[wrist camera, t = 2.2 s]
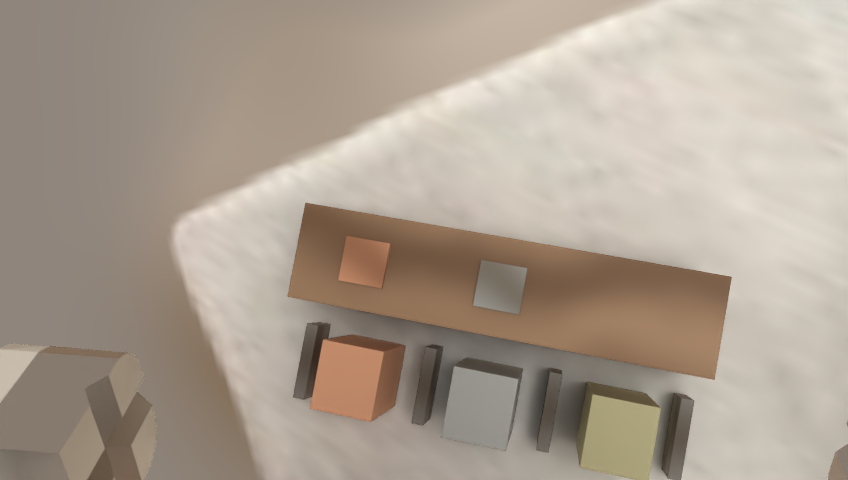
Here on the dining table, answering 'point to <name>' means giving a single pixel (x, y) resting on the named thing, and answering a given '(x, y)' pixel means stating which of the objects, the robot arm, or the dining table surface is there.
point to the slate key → (482, 403)
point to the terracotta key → (357, 377)
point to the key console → (510, 302)
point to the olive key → (617, 431)
